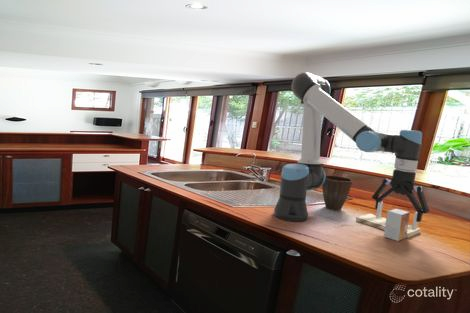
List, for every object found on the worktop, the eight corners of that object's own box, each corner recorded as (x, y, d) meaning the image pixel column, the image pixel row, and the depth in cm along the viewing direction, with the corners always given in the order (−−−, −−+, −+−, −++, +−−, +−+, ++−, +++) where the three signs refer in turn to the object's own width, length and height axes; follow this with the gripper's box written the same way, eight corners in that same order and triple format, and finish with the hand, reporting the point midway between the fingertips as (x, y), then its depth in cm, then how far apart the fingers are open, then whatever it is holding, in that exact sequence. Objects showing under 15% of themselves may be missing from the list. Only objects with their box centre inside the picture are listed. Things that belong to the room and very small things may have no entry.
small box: (398, 241, 109) (402, 214, 108) (383, 236, 113) (386, 210, 112) (406, 237, 114) (410, 212, 113) (391, 233, 118) (395, 208, 117)
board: (355, 220, 131) (356, 216, 131) (368, 217, 138) (369, 213, 138) (407, 237, 114) (408, 233, 113) (419, 232, 121) (420, 228, 121)
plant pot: (354, 210, 148) (357, 179, 147) (339, 214, 138) (343, 182, 137) (327, 203, 159) (331, 174, 157) (312, 206, 149) (316, 176, 147)
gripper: (368, 164, 118) (360, 214, 121) (438, 177, 98) (427, 236, 101) (377, 164, 122) (369, 211, 125) (446, 176, 103) (435, 233, 106)
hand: (395, 223), depth 113 cm, fingers open, 13 cm apart
